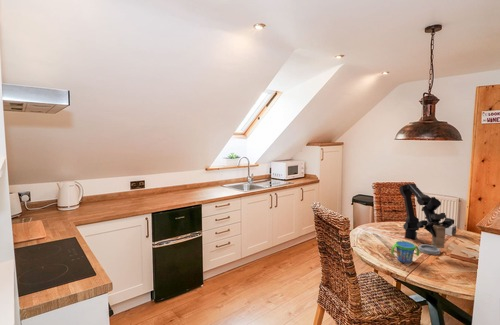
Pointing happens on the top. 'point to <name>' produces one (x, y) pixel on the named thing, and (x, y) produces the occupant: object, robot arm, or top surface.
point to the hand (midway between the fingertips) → (439, 237)
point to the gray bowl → (429, 249)
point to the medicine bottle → (450, 228)
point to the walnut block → (438, 236)
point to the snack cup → (405, 251)
